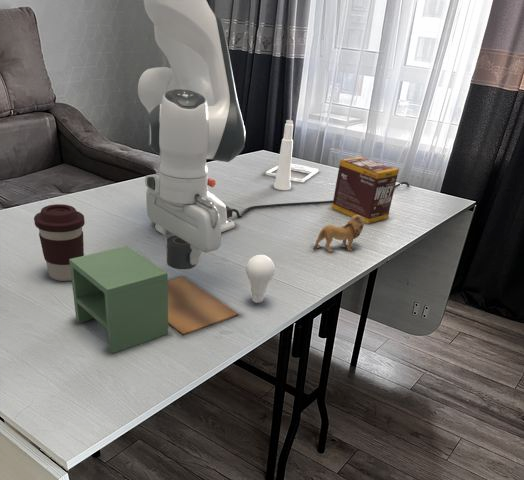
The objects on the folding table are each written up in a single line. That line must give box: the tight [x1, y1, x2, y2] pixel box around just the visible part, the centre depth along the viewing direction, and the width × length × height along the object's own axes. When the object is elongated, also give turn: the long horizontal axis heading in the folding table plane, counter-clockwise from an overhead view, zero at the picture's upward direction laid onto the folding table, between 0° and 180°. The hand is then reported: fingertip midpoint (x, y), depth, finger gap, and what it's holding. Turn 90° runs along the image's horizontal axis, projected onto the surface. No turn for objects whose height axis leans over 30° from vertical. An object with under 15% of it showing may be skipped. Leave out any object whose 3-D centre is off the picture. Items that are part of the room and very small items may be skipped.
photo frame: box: [265, 162, 320, 184], centre depth 204 cm, size 15×1×18 cm
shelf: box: [69, 245, 169, 354], centre depth 101 cm, size 12×14×13 cm
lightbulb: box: [245, 254, 276, 304], centre depth 115 cm, size 6×6×11 cm
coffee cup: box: [33, 203, 85, 282], centre depth 117 cm, size 10×10×15 cm
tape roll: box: [166, 235, 198, 270], centre depth 107 cm, size 6×6×5 cm
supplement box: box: [331, 156, 400, 225], centre depth 169 cm, size 10×15×16 cm
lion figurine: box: [312, 215, 365, 253], centre depth 145 cm, size 15×5×9 cm, turn 116°
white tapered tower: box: [273, 119, 294, 191], centre depth 182 cm, size 6×6×22 cm
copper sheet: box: [168, 276, 239, 336], centre depth 114 cm, size 14×20×1 cm
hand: (182, 256), depth 108 cm, fingers closed on tape roll, 6 cm apart
